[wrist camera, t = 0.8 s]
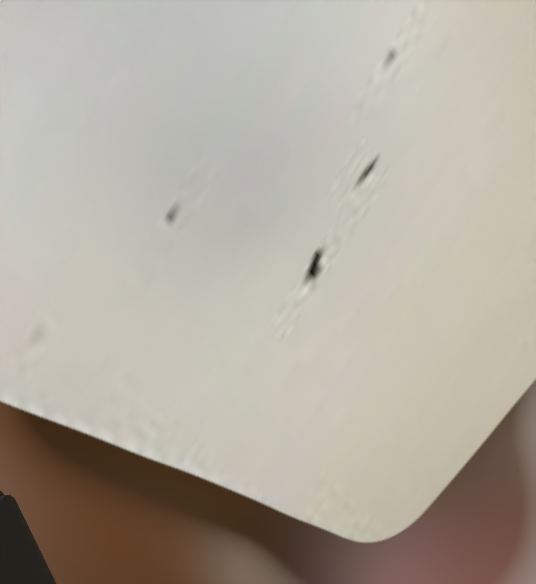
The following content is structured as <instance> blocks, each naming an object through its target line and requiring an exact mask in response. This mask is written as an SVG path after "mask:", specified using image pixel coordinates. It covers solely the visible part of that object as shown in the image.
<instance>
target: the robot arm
mask: <svg viewBox="0 0 536 584" xmlns="http://www.w3.org/2000/svg"><path fill="white" fill-rule="evenodd" d="M0 584H56V582H55V580H54V578H53V576H52V574H51V572H50V570H49V568H48V566H47V564H46V562H45V560H44V558H43V556H42V553H41V551H40V550H39V547H38V545H37V543H36V541H35V539H34V537H33V535H32V533H31V531H30V529H29V527H28V525H27V523H26V521H25V519H24V517H23V514H22V513H21V510H20V508H19V506H18V504H17V502H16V500H15V499H14V498H13V497H12V496H11V495H4V494H3V492H1V491H0Z"/></svg>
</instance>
